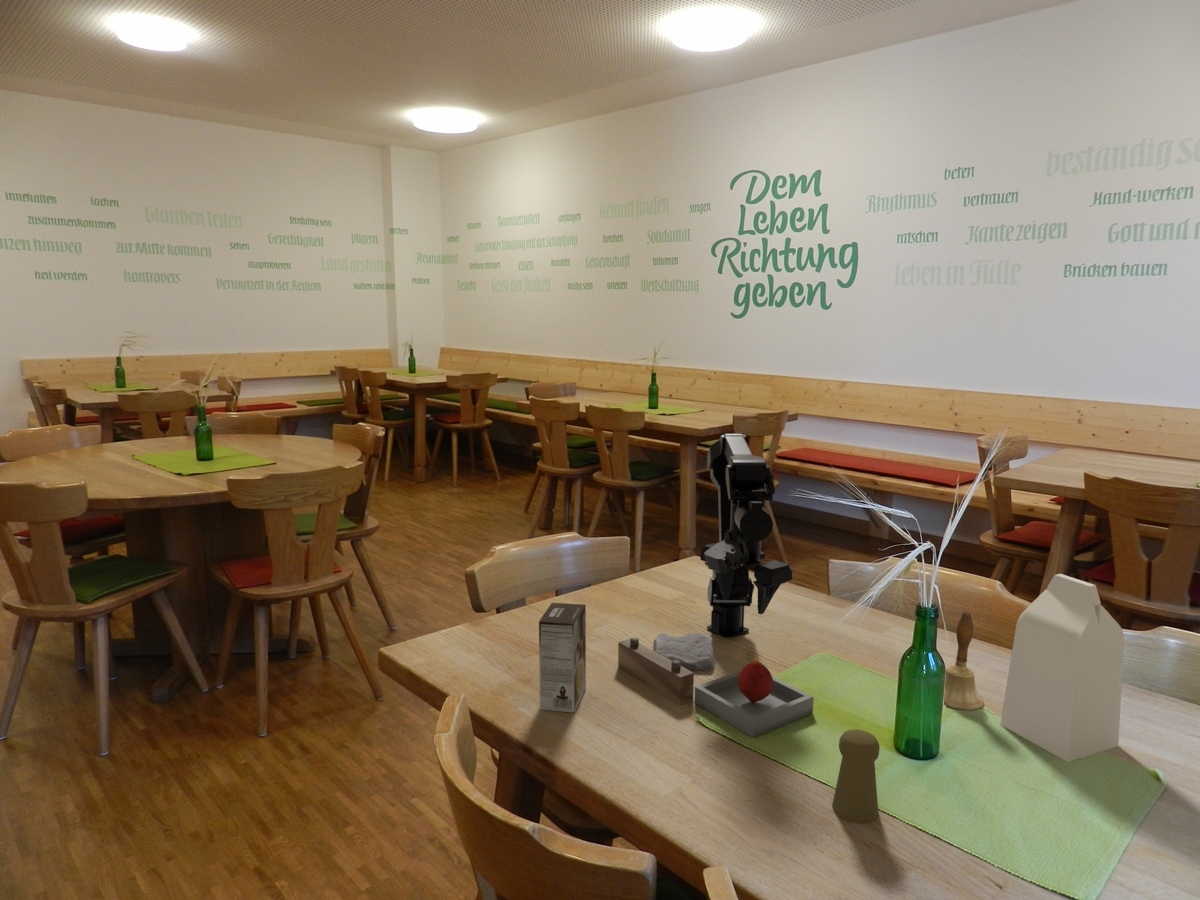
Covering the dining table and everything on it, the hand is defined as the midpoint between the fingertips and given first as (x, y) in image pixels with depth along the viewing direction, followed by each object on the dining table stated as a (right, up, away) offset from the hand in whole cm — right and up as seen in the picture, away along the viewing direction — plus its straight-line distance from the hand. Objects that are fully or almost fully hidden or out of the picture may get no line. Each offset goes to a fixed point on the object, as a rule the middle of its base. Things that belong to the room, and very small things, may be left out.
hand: (743, 606), depth 151 cm
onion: (-1, -14, -14) cm, 20 cm away
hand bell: (+36, -14, -11) cm, 40 cm away
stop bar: (-17, -13, -5) cm, 22 cm away
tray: (-1, -15, -14) cm, 20 cm away
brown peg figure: (+8, -20, -42) cm, 47 cm away
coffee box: (-33, -14, -11) cm, 38 cm away
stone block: (-11, -12, +5) cm, 17 cm away
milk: (+47, -17, -22) cm, 54 cm away
